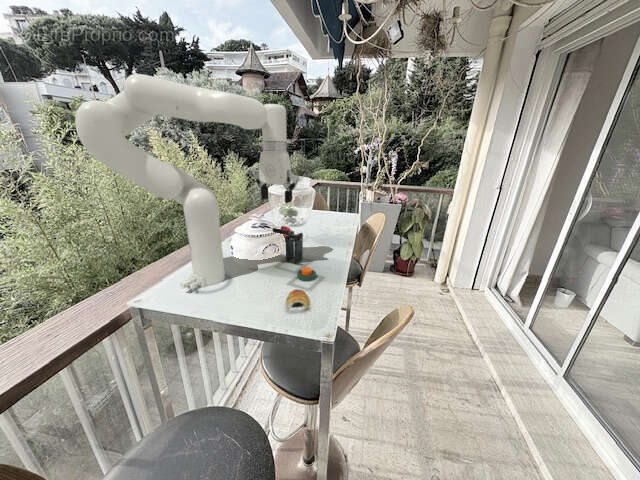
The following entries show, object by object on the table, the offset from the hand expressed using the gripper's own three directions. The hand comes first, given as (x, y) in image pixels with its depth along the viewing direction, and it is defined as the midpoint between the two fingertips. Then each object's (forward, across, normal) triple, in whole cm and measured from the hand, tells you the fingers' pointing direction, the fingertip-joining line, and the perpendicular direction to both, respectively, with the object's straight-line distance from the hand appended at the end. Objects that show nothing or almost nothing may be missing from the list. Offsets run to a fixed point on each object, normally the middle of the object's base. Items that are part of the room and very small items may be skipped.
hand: (276, 200), depth 90 cm
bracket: (+26, +2, +8) cm, 28 cm away
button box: (+26, +13, -2) cm, 30 cm away
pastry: (+27, +18, -16) cm, 36 cm away
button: (+24, +13, -2) cm, 27 cm away
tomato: (+27, -15, +26) cm, 40 cm away
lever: (+14, +2, +3) cm, 15 cm away
